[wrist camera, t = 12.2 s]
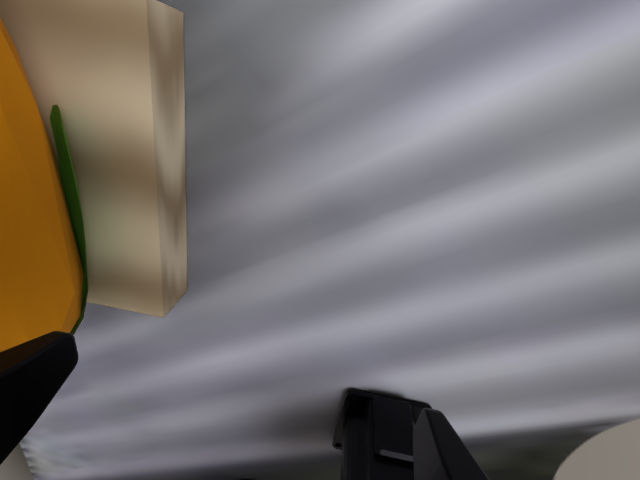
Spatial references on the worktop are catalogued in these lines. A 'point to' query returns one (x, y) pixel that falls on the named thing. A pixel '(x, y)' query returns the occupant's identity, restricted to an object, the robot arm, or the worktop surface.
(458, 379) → the worktop surface
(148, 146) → the birch base
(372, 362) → the worktop surface
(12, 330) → the corn
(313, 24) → the worktop surface
